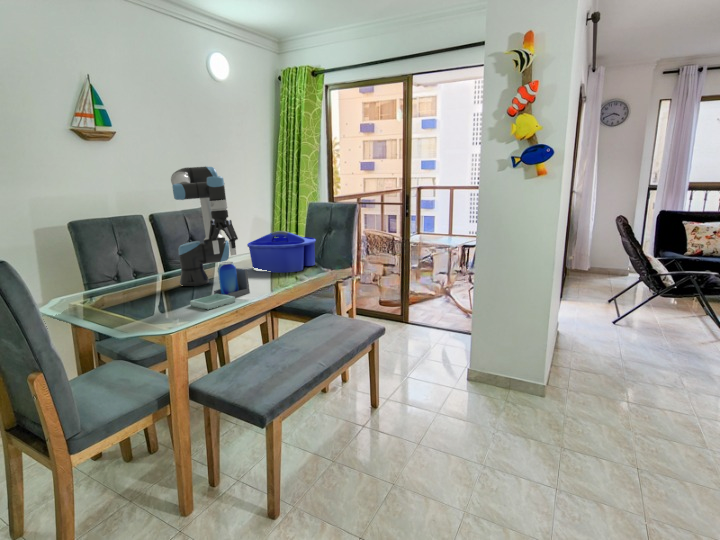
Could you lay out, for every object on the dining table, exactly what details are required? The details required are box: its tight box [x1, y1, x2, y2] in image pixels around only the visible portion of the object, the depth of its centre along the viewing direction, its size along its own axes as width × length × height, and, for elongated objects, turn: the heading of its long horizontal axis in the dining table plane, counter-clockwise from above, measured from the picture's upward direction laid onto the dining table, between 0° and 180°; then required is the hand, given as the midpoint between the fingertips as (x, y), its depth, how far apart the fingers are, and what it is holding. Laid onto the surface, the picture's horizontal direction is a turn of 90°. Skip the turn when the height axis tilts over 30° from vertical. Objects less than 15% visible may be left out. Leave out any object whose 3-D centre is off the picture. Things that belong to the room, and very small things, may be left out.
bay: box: [213, 267, 251, 298], centre depth 211 cm, size 13×11×12 cm
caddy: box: [246, 230, 317, 274], centre depth 271 cm, size 32×45×23 cm
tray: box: [189, 293, 236, 311], centre depth 196 cm, size 14×14×2 cm
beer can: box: [217, 261, 239, 296], centre depth 209 cm, size 8×8×16 cm
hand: (225, 254), depth 207 cm, fingers open, 13 cm apart
